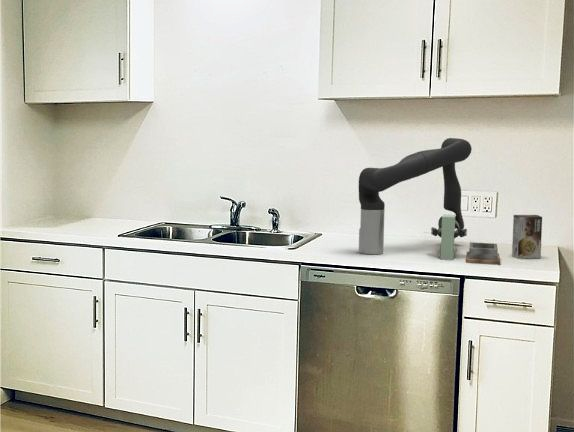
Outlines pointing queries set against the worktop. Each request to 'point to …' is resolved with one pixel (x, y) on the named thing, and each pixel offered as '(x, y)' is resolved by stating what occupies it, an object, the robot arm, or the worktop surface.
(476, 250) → the gray frame wooden base
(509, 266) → the worktop surface
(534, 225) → the coffee box
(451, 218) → the block
